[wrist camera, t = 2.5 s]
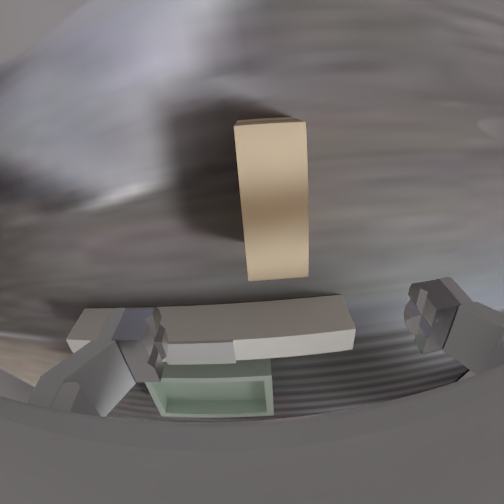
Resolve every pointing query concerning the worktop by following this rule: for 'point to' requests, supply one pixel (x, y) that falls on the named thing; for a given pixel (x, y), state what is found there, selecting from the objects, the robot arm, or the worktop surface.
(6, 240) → the worktop surface
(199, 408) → the pale green tray
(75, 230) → the worktop surface
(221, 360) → the door edge
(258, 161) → the bar
